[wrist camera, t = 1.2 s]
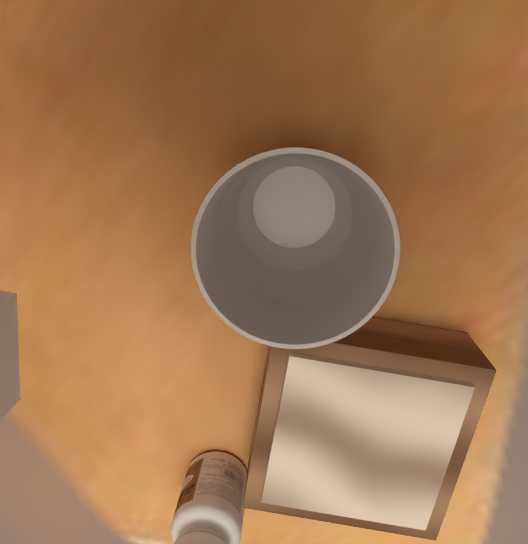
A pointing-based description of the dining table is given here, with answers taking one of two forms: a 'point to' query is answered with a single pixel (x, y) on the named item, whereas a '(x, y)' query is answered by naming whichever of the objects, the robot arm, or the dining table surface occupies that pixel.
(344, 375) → the pedestal
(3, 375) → the robot arm
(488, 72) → the dining table surface
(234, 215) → the cup
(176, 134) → the dining table surface
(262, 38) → the dining table surface
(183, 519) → the pill bottle
